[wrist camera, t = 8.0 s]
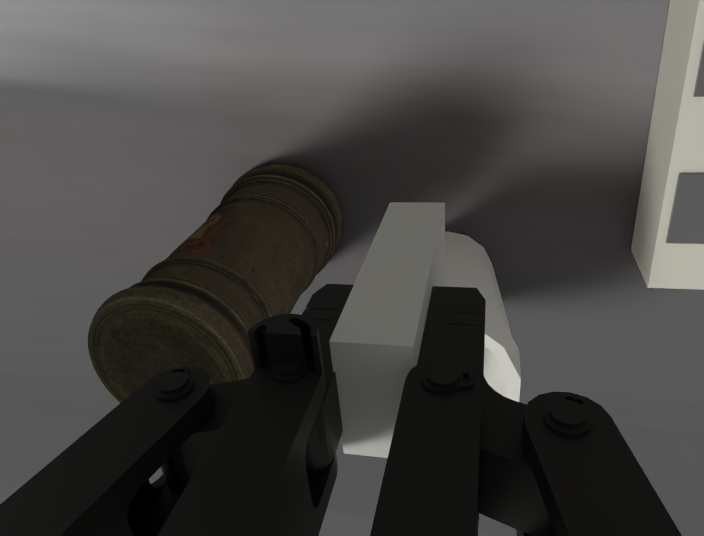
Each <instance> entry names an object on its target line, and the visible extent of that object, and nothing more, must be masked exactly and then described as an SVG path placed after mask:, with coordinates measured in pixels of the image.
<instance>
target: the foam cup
mask: <svg viewBox="0 0 704 536" xmlns="http://www.w3.org/2000/svg"><path fill="white" fill-rule="evenodd" d="M445 266H446V287H471V288H477V289H478V290H479V292H480V293H481V294H482V296H483V297H484V298H485V300H486V308H485V348H484V377H485V379H486V381H487V383H488V384H489V385H490V386H491V387H492V388H493V389H494V390H495V391H496V392H498V393H499V394H501V395H503V396H504V397H506V398H509V399H511V400H514V401H517V402H519V395H520V383H521V374H520V354H519V350H518V348H517V346H516V344H515V342H514V340H513V338H512V336H511V332H510V329H509V325H508V321H507V317H506V313H505V310H504V306H503V302H502V298H501V295H500V291H499V287H498V283H497V279H496V276H495V272H494V268H493V266H492V263H491V261H490V259H489V257H488V255H487V253H486V251H485V249H484V247H482V246H481V245H480V244H478V243H477V242H476V241H474V240H473V239H472V238H470V237H469V236H467V235H462V234H458V233H453V232H449V231H447V232H445Z"/></svg>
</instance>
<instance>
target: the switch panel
mask: <svg viewBox="0 0 704 536" xmlns="http://www.w3.org/2000/svg"><path fill="white" fill-rule="evenodd" d="M631 251H632V253H633V256H634V258H635V260H636V262H637V265H638V267H639V269H640V271H641V274H642V276H643V278H644V280H645V283H646V285H647V287H648V288H673V289H704V0H670V4H669V11H668V17H667V23H666V30H665V36H664V42H663V49H662V55H661V62H660V68H659V74H658V81H657V87H656V93H655V100H654V106H653V112H652V119H651V125H650V131H649V138H648V144H647V151H646V157H645V163H644V170H643V176H642V182H641V189H640V195H639V201H638V208H637V214H636V220H635V227H634V233H633V239H632V246H631Z"/></svg>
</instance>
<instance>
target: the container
mask: <svg viewBox="0 0 704 536" xmlns="http://www.w3.org/2000/svg"><path fill="white" fill-rule="evenodd" d="M341 234H342V215H341V210H340V207H339V204H338V201H337V199H336V197H335V195H334V194H333V192H332V191H331V190H330V188H329V187H328V186H327V185H326V184H325V183H324V182H323V181H322V180H320V179H319V178H318V177H316V176H315V175H313V174H312V173H310V172H308V171H306V170H304V169H301V168H299V167H296V166H291V165H284V164H271V165H265V166H261V167H258V168H255V169H253V170H250V171H249V172H247V173H245V174H244V175H243V176H241V177H240V178H239V179H238V180H237V181H236V182H235V183H234V184H233V186H232V187H231V189H230V190H229V191H228V192H227V193H226V194H225V196H224V197H223V199H222V201H221V203H220V205H219V206H218V207H217V208H216V209H215V210H214V211H213V212H212V213H211V214H210V216H209V217H208V219H207V221H206V222H205V223H204V224H203V225H202V226H201V227H199V228H198V229H197V230H196V231H195V232H194V233H193V234H192V235H191V236H190V237H189V238H188V239H186V240H185V241H184V242H183V243H182V244H181V245H180V246H179V247H178V248H177V249H176V250H175V251H174V252H173V253H172V254H171V255H170V256H169V257H168V258H167V259H165V260H164V261H162V262H160V263H158V264H157V265H155V266H154V267H152V268H151V269H150V270H149V271H148V272H147V274H146V275H145V276H144V278H143V279H142V281H141V282H139V283H136V284H134V285H133V286H131V287H130V288H128V289H125V290H122V291H120V292H118V293H116V294H114V295H112V296H111V297H110V298H108V299H107V300H106V301H105V302H104V303H103V304H102V305H101V307H100V308H99V309H98V311H97V312H96V314H95V316H94V318H93V320H92V323H91V326H90V329H89V334H88V348H89V354H90V357H91V361H92V363H93V366H94V369H95V371H96V373H97V375H98V376H99V378H100V380H101V381H102V383H103V384H104V385H105V387H106V388H107V389H108V390H109V392H110V393H111V394H112V395H113V396H114V397H115V398H116V399H117V400H118V401H119V402H120V403H121V402H123V401H124V400H125V399H126V398H127V397H129V396H130V395H131V394H132V393H133V392H135V391H136V390H137V389H138V388H139V387H140V386H142V385H143V384H144V383H145V382H146V381H148V380H149V379H151V378H152V377H154V376H155V375H157V374H158V373H160V372H163V371H165V370H168V369H171V368H174V367H180V366H195V367H199V368H201V369H203V370H205V371H207V373H208V374H209V376H210V378H211V381H212V384H218V383H225V382H232V381H238V380H243V379H247V378H250V376H251V374H252V373H253V371H254V369H255V365H254V360H253V355H252V350H251V346H250V341H249V336H248V331H249V330H250V329H251V328H252V327H253V326H254V325H255V324H256V323H258V322H260V321H262V320H264V319H266V318H269V317H272V316H276V315H280V314H290V312H291V310H292V309H293V307H294V305H295V304H296V302H297V300H298V299H299V297H300V295H301V294H302V293H303V292H304V291H305V290H306V289H307V288H308V287H309V286H310V284H311V283H312V281H313V279H314V278H315V276H316V275H317V274H318V273H319V272H320V271H321V270H322V269H323V268H324V267H325V266H326V264H327V263H328V261H329V260H330V259H331V258H332V256H333V255H334V253H335V252H336V250H337V248H338V245H339V243H340V239H341Z"/></svg>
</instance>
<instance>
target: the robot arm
mask: <svg viewBox="0 0 704 536" xmlns="http://www.w3.org/2000/svg"><path fill="white" fill-rule="evenodd" d="M485 308H486V300H485V298H484V297H483V296H482V294H481V293H480V292H479V290H478V289H477V288H471V287H446V266H445V202H390V203H389V206H388V208H387V210H386V213H385V215H384V217H383V219H382V222H381V224H380V226H379V229H378V231H377V233H376V235H375V238H374V240H373V242H372V245H371V247H370V249H369V251H368V254H367V256H366V258H365V261H364V263H363V265H362V267H361V270H360V272H359V274H358V277H357V279H356V281H355V283H354V285H342V284H326V285H325V286H324V287H322V288H321V289H320V290H318V291H317V292H316V293H314V294H313V295H312V297H311V299H310V301H309V303H308V304H307V306H306V310H304V312H303V314H302V315H298V314H280V315H276V316H272V317H269V318H266V319H264V320H262V321H260V322H258V323H256V324H255V325H254V326H253V327H252V328H251V329H250V330H249V331H248V336H249V341H250V346H251V350H252V355H253V360H254V365H255V369H254V371H253V373H252V374H251V376H250V378H247V379H243V380H238V381H232V382H225V383H218V384H212V381H211V378H210V376H209V374H208V373H207V371H205V370H203V369H201V368H199V367H195V366H180V367H174V368H171V369H168V370H165V371H163V372H160V373H158V374H157V375H155V376H154V377H152V378H151V379H149V380H148V381H146V382H145V383H144V384H143V385H142V386H140V387H139V388H138V389H137V390H136V391H135V392H133V393H132V394H131V395H130V396H129V397H127V398H126V399H125V400H124V401H123V402H121V403H120V404H119V405H118V406H117V407H116V408H114V409H113V410H112V411H111V412H110V413H108V414H107V415H106V416H105V417H104V418H102V419H101V420H100V421H99V422H98V423H97V424H95V425H94V426H93V427H92V428H91V429H89V430H88V431H87V432H86V433H85V434H83V435H82V436H81V437H80V438H79V439H78V440H76V441H75V442H74V443H73V444H72V445H70V446H69V447H68V448H67V449H66V450H64V451H63V452H62V453H61V454H60V455H59V456H57V457H56V458H55V459H54V460H53V461H51V462H50V463H49V464H48V465H47V466H45V467H44V468H43V469H42V470H41V471H40V472H38V473H37V474H36V475H35V476H34V477H32V478H31V479H30V480H29V481H28V482H26V483H25V484H24V485H23V486H22V487H21V488H19V489H18V490H17V491H16V492H15V493H13V494H12V495H11V496H10V497H9V498H7V499H6V500H5V501H4V502H3V503H2V504H0V536H318V535H319V532H320V528H321V525H322V522H323V519H324V515H325V512H326V509H327V506H328V502H329V499H330V496H331V493H332V489H333V486H334V483H335V480H336V476H337V458H336V449H337V446H338V443H339V440H340V437H341V436H342V443H343V451H344V453H346V454H355V455H365V456H374V457H383V458H388V459H387V463H386V468H385V472H384V477H383V481H382V486H381V490H380V495H379V499H378V503H377V508H376V512H375V517H374V521H373V526H372V530H371V535H370V536H478V520H479V513H480V514H483V515H485V516H487V517H490V518H492V519H494V520H496V521H499V522H501V523H503V524H506V525H508V526H510V527H513V528H515V529H516V531H517V536H682V535H681V534H680V532H679V530H678V529H677V527H676V525H675V524H674V522H673V520H672V519H671V517H670V515H669V514H668V512H667V510H666V509H665V507H664V505H663V504H662V502H661V500H660V498H659V497H658V495H657V493H656V492H655V490H654V488H653V487H652V485H651V483H650V482H649V480H648V478H647V477H646V475H645V473H644V472H643V470H642V468H641V467H640V465H639V463H638V462H637V460H636V458H635V457H634V455H633V453H632V452H631V450H630V448H629V446H628V445H627V443H626V441H625V440H624V438H623V436H622V435H621V433H620V431H619V430H618V428H617V426H616V425H615V423H614V421H613V420H612V418H611V416H610V415H609V414H608V413H607V412H606V411H605V410H604V409H603V408H602V406H600V405H599V404H597V403H595V402H594V401H592V400H590V399H589V398H587V397H584V396H580V395H577V394H573V393H569V392H550V393H546V394H541V395H538V396H537V397H535V398H534V399H532V400H531V401H529V402H528V404H527V405H526V404H523V403H520V402H517V401H514V400H511V399H509V398H506V397H504V396H503V395H501V394H499V393H498V392H496V391H495V390H494V389H493V388H492V387H491V386H490V385H489V384H488V383H487V381H486V379H485V377H484V348H485ZM160 467H161V470H162V473H163V475H162V476H161V477H160V478H159V479H158V480H156V481H155V482H154V483H152V484H150V483H149V480H148V479H149V478H150V477H151V476H152V475H153V474H154V473H155V472H156V471H157V470H158V469H159V468H160Z"/></svg>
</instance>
